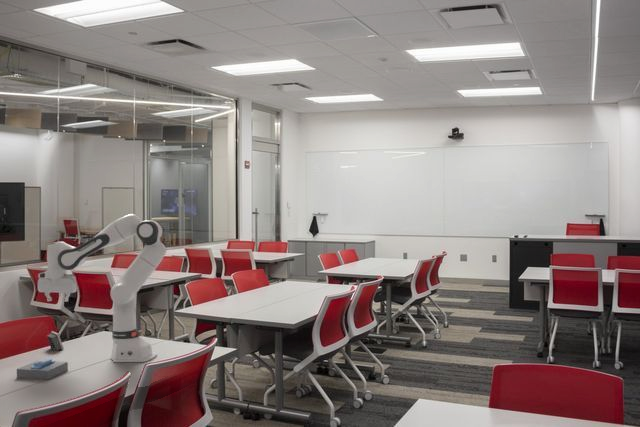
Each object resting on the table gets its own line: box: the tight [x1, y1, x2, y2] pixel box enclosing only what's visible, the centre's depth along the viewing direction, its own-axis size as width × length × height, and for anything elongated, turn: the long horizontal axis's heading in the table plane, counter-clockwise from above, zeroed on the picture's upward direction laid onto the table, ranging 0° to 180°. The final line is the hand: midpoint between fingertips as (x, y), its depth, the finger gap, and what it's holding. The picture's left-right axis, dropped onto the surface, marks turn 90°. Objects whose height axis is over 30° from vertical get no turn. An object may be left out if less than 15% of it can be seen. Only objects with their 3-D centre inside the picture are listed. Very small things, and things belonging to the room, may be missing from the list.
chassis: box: [16, 359, 69, 381], centre depth 269 cm, size 16×14×4 cm
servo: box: [31, 358, 56, 369], centre depth 269 cm, size 4×11×7 cm, turn 168°
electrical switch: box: [46, 330, 65, 351], centre depth 313 cm, size 9×5×9 cm, turn 44°
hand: (57, 301), depth 293 cm, fingers open, 8 cm apart
